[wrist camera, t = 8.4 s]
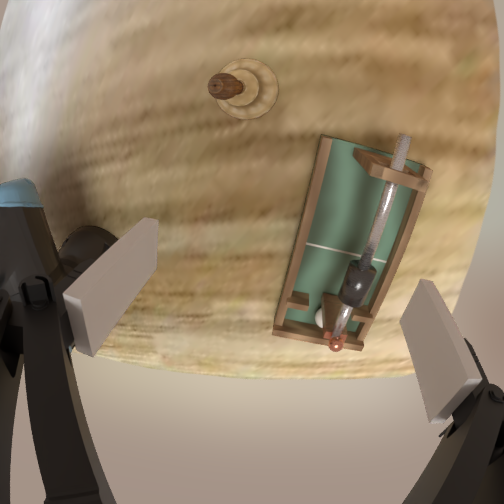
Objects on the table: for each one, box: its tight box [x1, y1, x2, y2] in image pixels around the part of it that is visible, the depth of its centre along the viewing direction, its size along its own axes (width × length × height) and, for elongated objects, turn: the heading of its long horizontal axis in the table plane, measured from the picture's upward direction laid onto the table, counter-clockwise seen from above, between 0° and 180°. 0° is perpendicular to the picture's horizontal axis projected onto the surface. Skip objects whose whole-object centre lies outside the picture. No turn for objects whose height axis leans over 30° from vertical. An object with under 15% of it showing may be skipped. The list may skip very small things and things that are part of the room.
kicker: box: [321, 133, 412, 352], centre depth 36 cm, size 3×27×11 cm, turn 170°
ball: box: [315, 307, 323, 328], centre depth 47 cm, size 4×4×4 cm
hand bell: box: [208, 59, 279, 120], centre depth 30 cm, size 8×8×16 cm
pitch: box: [272, 134, 433, 351], centre depth 39 cm, size 15×30×12 cm, turn 170°
